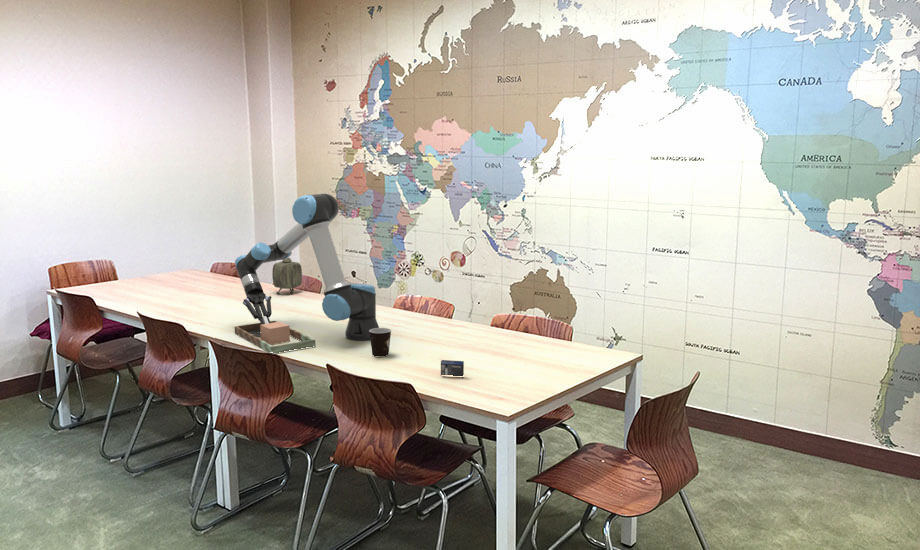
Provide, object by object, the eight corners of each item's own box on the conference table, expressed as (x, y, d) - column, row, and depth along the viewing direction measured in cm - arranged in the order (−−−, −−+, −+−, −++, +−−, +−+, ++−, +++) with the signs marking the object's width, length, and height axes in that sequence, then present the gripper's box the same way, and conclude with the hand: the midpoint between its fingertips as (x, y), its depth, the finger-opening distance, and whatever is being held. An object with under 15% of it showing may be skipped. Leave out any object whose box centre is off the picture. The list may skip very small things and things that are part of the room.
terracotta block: (289, 341, 326) (289, 325, 325) (270, 345, 320) (269, 328, 319) (280, 337, 333) (279, 321, 332) (261, 340, 327) (260, 324, 326)
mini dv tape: (440, 377, 278) (440, 361, 277) (441, 375, 279) (441, 359, 278) (463, 378, 276) (463, 362, 275) (463, 377, 278) (463, 361, 277)
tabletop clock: (293, 290, 434) (291, 247, 430) (304, 292, 429) (302, 248, 425) (273, 294, 423) (271, 250, 418) (284, 296, 417) (282, 251, 413)
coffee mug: (382, 350, 312) (381, 326, 310) (395, 354, 306) (395, 330, 304) (359, 356, 304) (358, 331, 302) (372, 360, 298) (372, 335, 296)
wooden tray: (315, 346, 317) (315, 339, 317) (272, 354, 306) (271, 347, 306) (275, 327, 351) (275, 320, 350) (234, 333, 339) (234, 326, 339)
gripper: (264, 289, 347) (280, 332, 337) (236, 292, 339) (251, 337, 329) (268, 279, 342) (284, 323, 331) (239, 283, 334) (255, 327, 324)
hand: (268, 330), depth 330 cm, fingers closed
